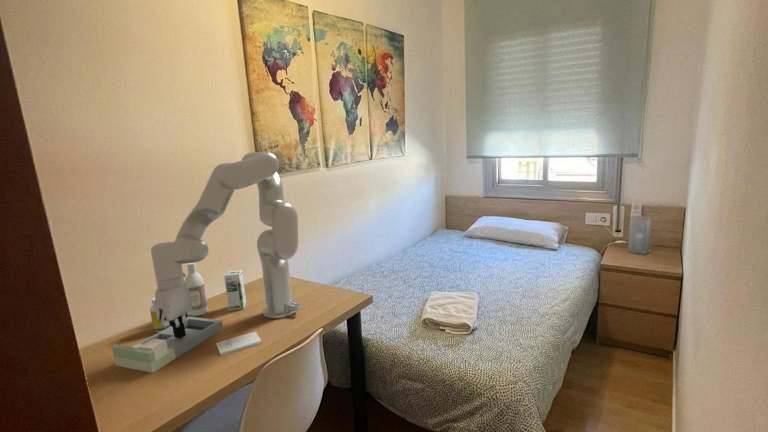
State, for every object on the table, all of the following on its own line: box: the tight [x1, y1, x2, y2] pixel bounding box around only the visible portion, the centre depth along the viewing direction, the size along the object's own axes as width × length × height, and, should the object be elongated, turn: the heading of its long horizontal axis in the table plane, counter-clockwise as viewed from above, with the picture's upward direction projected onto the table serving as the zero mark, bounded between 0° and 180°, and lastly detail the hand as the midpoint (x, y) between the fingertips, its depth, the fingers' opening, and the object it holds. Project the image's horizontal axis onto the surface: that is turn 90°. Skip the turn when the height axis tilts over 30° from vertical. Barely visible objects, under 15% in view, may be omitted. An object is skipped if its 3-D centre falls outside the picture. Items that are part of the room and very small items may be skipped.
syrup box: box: [223, 269, 247, 312], centre depth 156 cm, size 6×6×14 cm
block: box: [139, 338, 168, 359], centre depth 117 cm, size 5×5×4 cm
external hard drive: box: [215, 331, 262, 356], centre depth 127 cm, size 2×8×12 cm
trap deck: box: [111, 316, 224, 374], centre depth 128 cm, size 15×28×6 cm, turn 160°
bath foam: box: [184, 262, 209, 317], centre depth 153 cm, size 7×7×20 cm
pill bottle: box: [149, 296, 170, 333], centre depth 141 cm, size 6×6×12 cm
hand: (180, 336), depth 127 cm, fingers closed
